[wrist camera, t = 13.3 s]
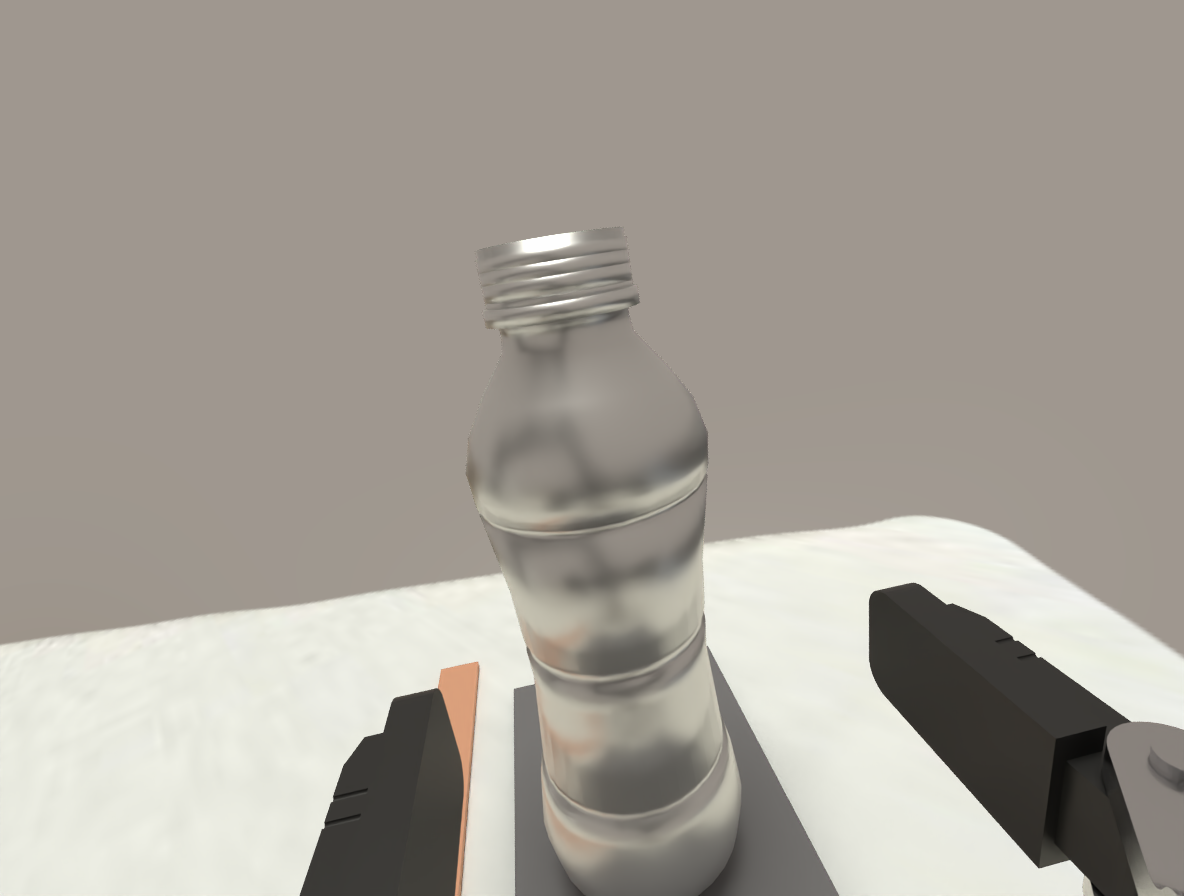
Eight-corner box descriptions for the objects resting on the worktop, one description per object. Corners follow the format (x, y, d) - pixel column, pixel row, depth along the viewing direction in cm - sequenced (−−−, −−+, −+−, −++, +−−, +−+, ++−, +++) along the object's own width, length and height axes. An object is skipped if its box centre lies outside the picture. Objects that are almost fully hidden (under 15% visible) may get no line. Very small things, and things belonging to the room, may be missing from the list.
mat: (523, 1344, 11) (518, 1333, 11) (515, 697, 28) (513, 688, 28) (988, 1195, 12) (990, 1183, 12) (708, 653, 29) (707, 645, 29)
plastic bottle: (521, 841, 20) (369, 270, 14) (657, 734, 24) (583, 241, 18) (639, 1009, 15) (482, 237, 9) (789, 842, 19) (747, 205, 13)
